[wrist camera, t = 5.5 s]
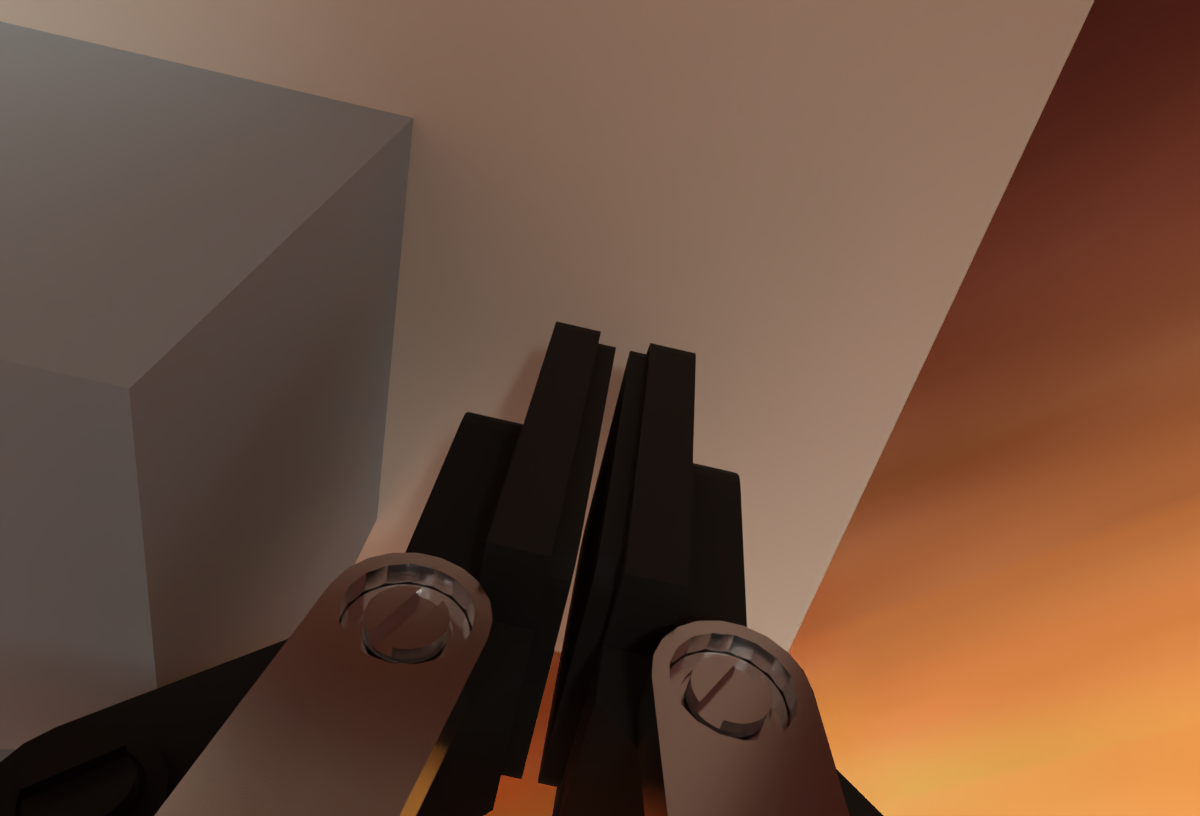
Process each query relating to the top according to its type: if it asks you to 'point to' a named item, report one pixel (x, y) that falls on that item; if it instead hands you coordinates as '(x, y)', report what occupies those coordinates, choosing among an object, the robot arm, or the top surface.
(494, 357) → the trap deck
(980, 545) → the top surface
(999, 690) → the top surface
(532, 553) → the robot arm
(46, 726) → the block
